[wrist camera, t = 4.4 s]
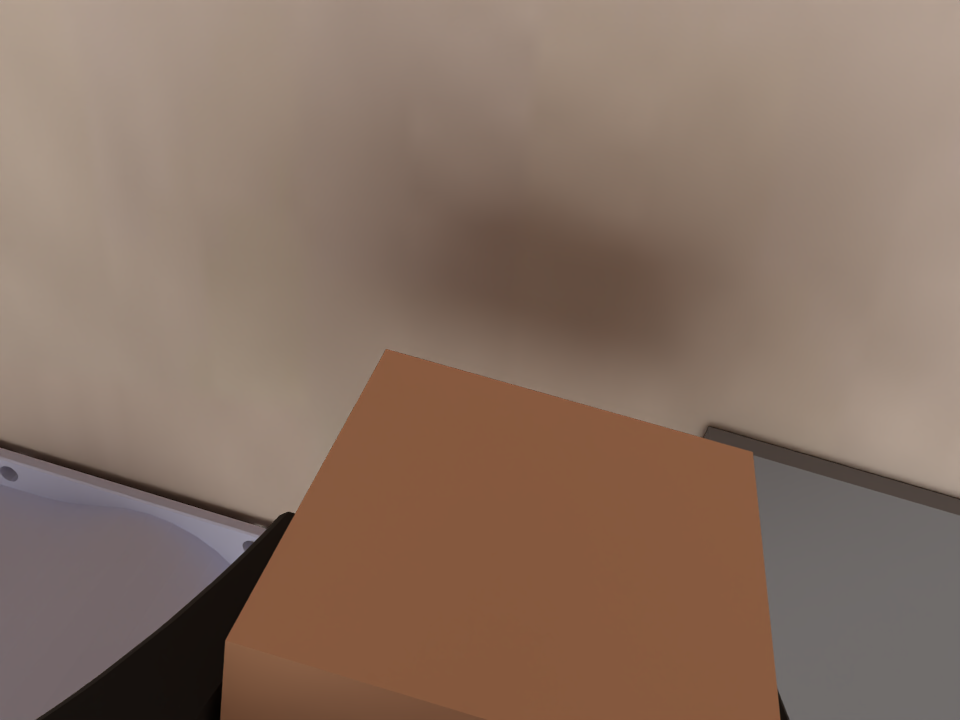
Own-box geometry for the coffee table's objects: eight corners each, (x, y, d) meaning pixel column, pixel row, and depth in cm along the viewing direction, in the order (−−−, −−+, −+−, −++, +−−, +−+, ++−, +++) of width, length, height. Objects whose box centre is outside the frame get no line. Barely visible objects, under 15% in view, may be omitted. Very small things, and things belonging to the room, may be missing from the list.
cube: (343, 598, 15) (207, 913, 11) (386, 349, 12) (225, 639, 8) (639, 686, 14) (621, 1046, 10) (752, 452, 12) (790, 811, 8)
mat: (586, 696, 26) (584, 713, 25) (709, 426, 20) (709, 442, 20) (931, 802, 25) (936, 822, 25) (1153, 556, 20) (1166, 575, 19)
